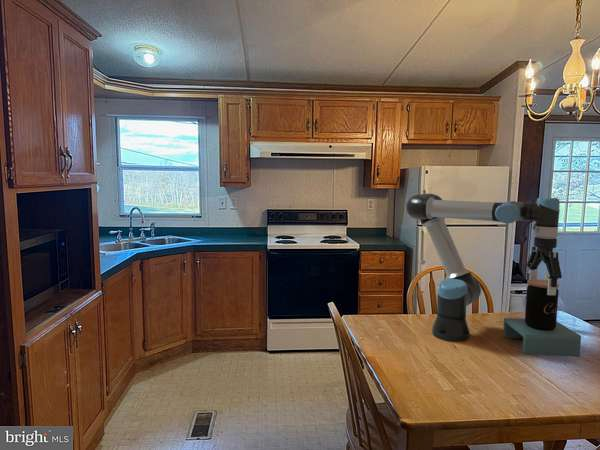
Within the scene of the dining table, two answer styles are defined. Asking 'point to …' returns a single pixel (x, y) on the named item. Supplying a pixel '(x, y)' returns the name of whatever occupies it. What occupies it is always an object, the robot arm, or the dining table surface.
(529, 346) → the green riser stand
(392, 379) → the dining table surface
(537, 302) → the coffee jar
